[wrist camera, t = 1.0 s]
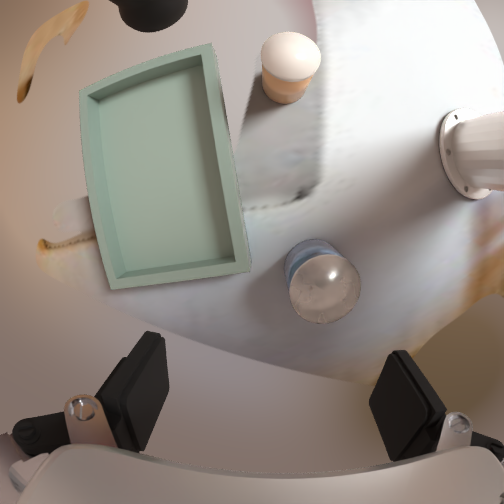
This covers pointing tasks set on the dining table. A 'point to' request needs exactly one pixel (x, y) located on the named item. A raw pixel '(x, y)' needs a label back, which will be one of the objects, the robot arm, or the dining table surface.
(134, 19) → the cola bottle
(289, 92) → the jar
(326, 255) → the tin
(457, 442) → the robot arm
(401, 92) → the dining table surface
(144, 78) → the tray
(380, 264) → the dining table surface
